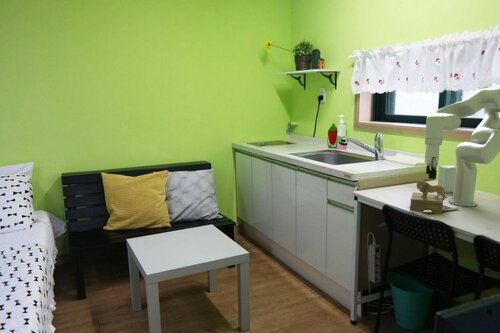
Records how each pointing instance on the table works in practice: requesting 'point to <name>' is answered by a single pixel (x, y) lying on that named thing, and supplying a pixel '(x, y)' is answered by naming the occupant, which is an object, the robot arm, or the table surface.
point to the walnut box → (426, 203)
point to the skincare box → (447, 177)
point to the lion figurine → (430, 189)
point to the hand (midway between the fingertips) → (430, 176)
